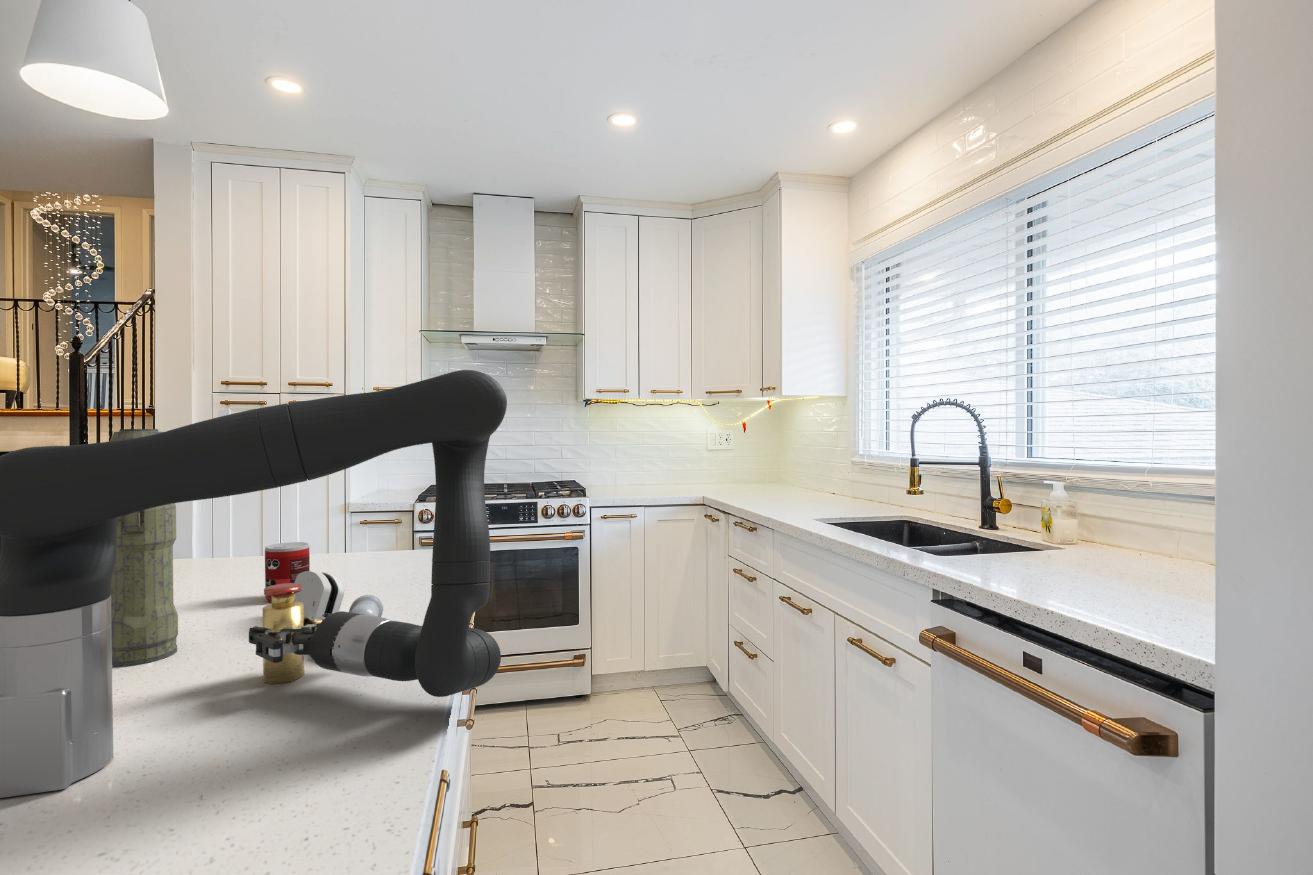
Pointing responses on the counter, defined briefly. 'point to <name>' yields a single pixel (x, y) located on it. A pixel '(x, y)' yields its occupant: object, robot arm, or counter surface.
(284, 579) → the canned food
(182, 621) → the counter surface
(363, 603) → the grey octagonal holder
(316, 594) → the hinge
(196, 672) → the counter surface
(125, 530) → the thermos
